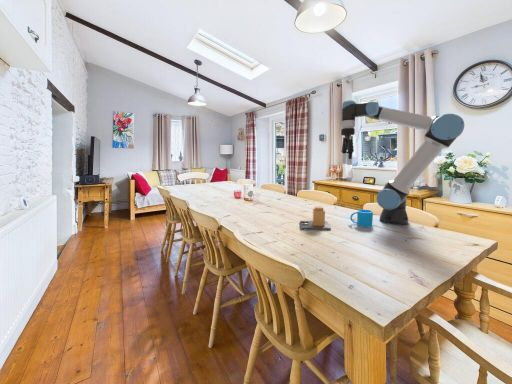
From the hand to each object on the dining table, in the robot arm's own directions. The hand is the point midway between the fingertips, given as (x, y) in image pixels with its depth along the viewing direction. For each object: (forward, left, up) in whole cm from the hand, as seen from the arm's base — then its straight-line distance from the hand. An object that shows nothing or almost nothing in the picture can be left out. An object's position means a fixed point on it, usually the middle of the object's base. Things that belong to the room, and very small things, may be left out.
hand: (346, 164), depth 148 cm
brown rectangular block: (+18, +15, -34) cm, 41 cm away
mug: (-7, +10, -35) cm, 37 cm away
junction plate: (+20, +15, -35) cm, 43 cm away
